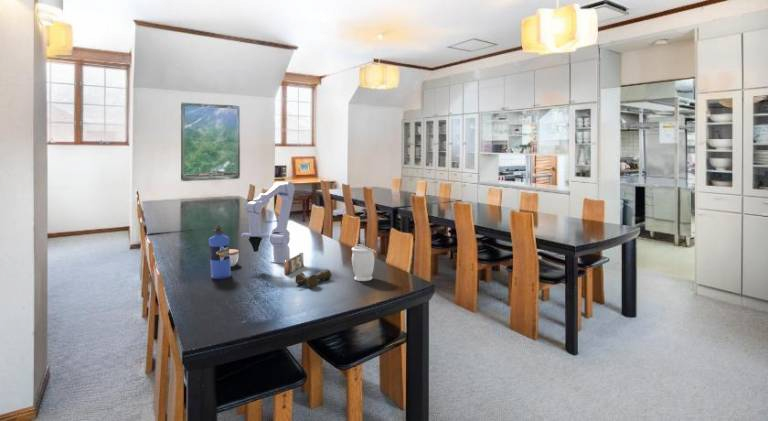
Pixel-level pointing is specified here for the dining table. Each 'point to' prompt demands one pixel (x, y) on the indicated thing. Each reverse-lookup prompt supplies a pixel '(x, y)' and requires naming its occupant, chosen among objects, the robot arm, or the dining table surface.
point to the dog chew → (312, 278)
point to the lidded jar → (233, 256)
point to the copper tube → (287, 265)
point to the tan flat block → (294, 263)
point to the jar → (362, 263)
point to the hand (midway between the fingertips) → (255, 251)
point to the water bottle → (219, 254)
